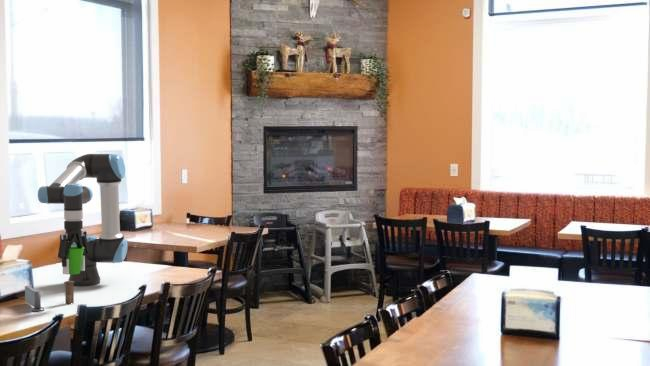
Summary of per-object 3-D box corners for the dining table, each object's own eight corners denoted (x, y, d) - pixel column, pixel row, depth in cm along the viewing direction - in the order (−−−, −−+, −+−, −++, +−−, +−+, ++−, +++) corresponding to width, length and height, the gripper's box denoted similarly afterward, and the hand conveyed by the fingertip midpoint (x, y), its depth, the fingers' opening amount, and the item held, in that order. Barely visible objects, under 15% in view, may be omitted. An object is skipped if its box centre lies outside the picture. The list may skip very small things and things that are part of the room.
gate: (41, 308, 326) (41, 291, 325) (35, 309, 324) (35, 292, 324) (29, 300, 339) (29, 285, 339) (24, 301, 338) (23, 285, 337)
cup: (58, 274, 327) (58, 249, 327) (69, 270, 336) (69, 245, 335) (77, 275, 326) (77, 249, 325) (88, 272, 334) (88, 246, 334)
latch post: (69, 302, 341) (69, 280, 341) (74, 303, 340) (74, 281, 339) (64, 303, 339) (64, 281, 338) (69, 304, 337) (69, 282, 337)
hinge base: (37, 308, 329) (37, 306, 329) (46, 309, 327) (46, 308, 327) (28, 311, 325) (28, 309, 324) (37, 312, 323) (37, 310, 322)
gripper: (84, 217, 341) (84, 267, 342) (47, 222, 321) (48, 275, 322) (97, 218, 338) (97, 268, 339) (61, 223, 318) (62, 277, 319)
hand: (73, 272), depth 331 cm, fingers closed on cup, 9 cm apart
